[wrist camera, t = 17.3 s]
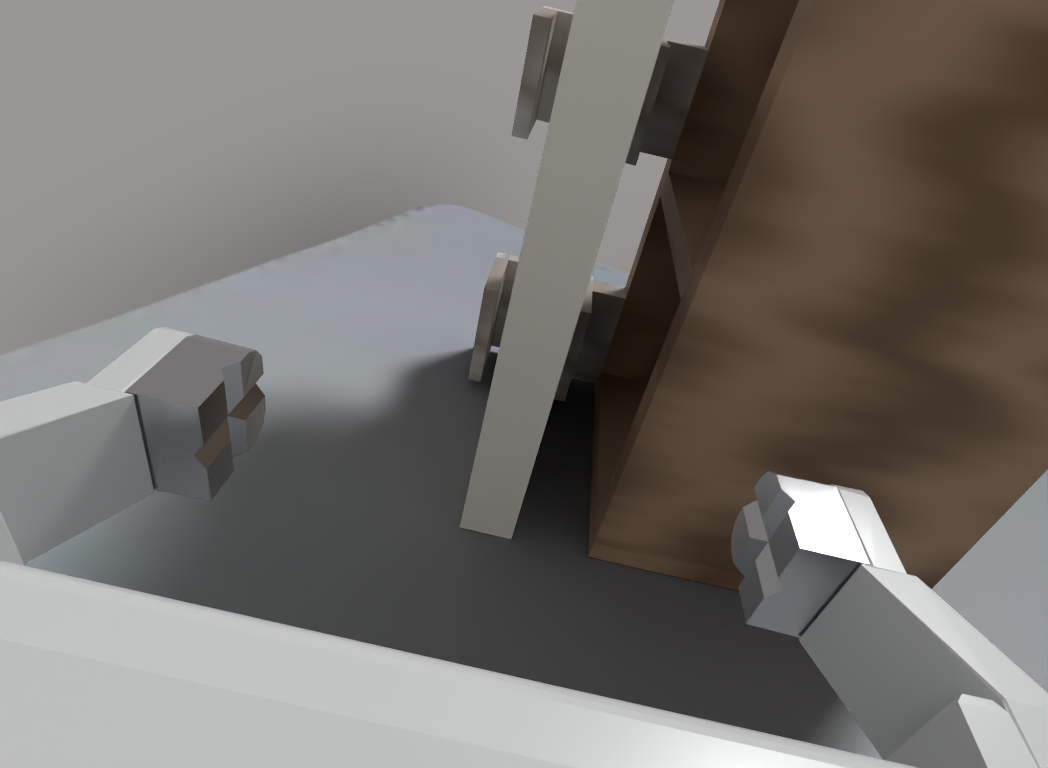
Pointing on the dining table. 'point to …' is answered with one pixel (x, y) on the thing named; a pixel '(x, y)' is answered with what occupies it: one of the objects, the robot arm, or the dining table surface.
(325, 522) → the dining table surface
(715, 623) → the dining table surface
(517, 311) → the door
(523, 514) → the dining table surface
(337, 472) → the dining table surface
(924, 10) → the cabinet
